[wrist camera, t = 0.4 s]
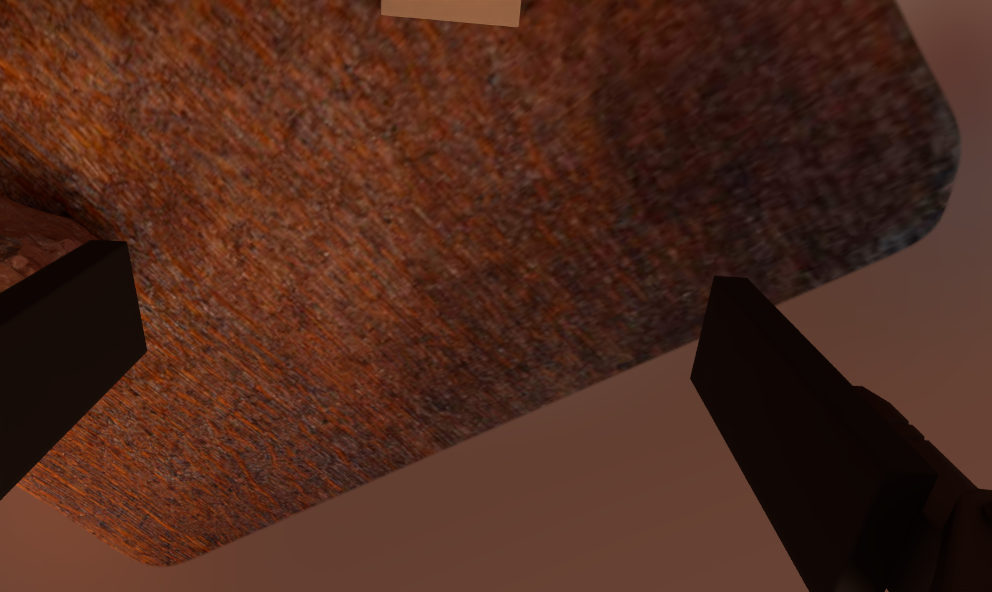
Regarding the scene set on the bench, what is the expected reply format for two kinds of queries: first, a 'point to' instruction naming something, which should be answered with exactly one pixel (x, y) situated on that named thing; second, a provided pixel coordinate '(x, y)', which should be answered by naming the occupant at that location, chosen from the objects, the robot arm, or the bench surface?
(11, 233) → the stone
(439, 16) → the bracket
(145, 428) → the bench surface
